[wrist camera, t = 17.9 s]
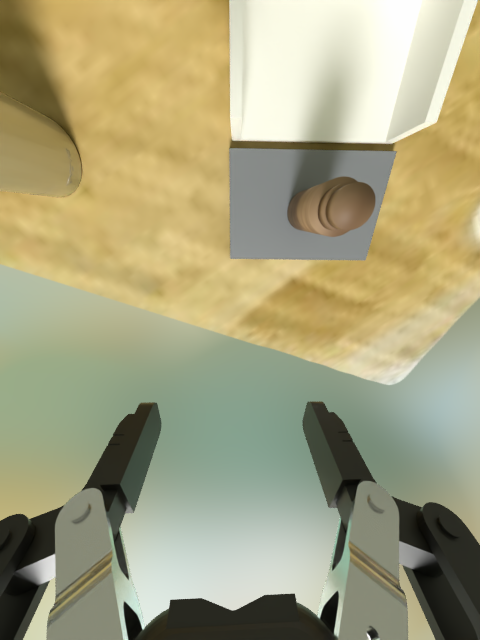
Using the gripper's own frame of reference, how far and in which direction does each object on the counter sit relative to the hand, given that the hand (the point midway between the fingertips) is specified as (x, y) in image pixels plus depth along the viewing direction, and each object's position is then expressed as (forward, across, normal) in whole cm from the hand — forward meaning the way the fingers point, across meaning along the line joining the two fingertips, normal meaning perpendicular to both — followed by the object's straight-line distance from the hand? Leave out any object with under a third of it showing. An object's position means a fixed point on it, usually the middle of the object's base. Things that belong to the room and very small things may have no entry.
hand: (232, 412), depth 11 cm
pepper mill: (+26, -11, -10) cm, 30 cm away
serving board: (+27, -11, -10) cm, 31 cm away
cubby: (+27, -10, -24) cm, 38 cm away
